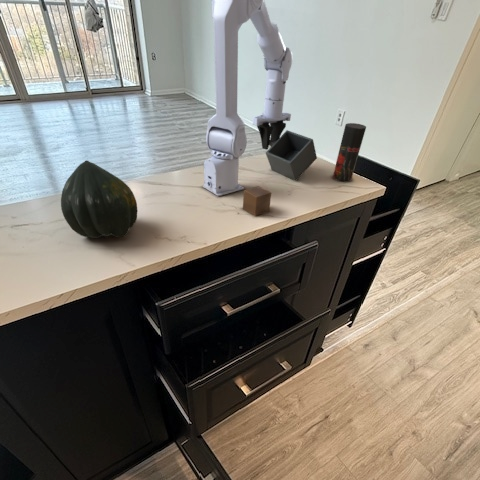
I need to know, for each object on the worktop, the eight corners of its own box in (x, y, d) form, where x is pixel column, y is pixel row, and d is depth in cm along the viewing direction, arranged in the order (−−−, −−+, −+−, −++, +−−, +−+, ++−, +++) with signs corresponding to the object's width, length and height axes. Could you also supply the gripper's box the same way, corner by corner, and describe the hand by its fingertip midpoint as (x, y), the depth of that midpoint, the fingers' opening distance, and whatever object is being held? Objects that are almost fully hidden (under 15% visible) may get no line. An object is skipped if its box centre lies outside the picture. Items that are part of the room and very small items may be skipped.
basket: (295, 181, 100) (290, 163, 94) (259, 164, 109) (252, 147, 103) (317, 158, 100) (313, 139, 94) (279, 143, 109) (273, 125, 103)
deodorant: (353, 182, 101) (368, 129, 91) (334, 181, 101) (348, 127, 91) (348, 175, 105) (363, 123, 95) (331, 174, 105) (343, 122, 95)
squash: (111, 234, 61) (119, 155, 60) (40, 227, 63) (47, 150, 62) (143, 248, 75) (149, 184, 74) (84, 242, 77) (90, 180, 76)
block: (255, 216, 81) (256, 197, 78) (242, 208, 84) (243, 190, 80) (269, 211, 84) (271, 192, 80) (256, 204, 86) (258, 185, 83)
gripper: (282, 94, 101) (276, 141, 111) (247, 98, 94) (244, 147, 104) (298, 98, 98) (291, 147, 107) (263, 102, 91) (259, 153, 100)
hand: (269, 147), depth 105 cm, fingers open, 3 cm apart
